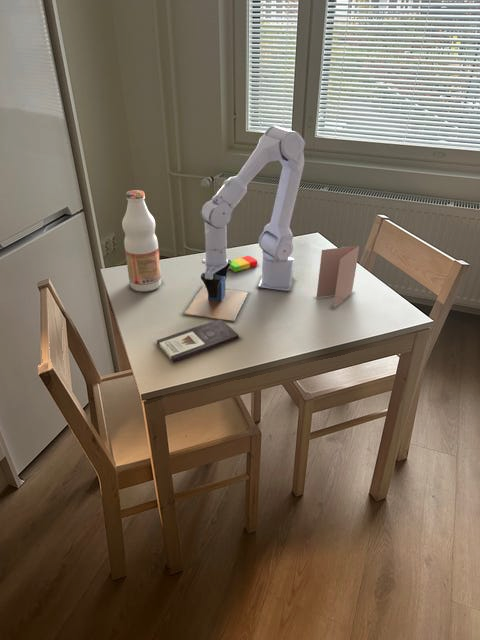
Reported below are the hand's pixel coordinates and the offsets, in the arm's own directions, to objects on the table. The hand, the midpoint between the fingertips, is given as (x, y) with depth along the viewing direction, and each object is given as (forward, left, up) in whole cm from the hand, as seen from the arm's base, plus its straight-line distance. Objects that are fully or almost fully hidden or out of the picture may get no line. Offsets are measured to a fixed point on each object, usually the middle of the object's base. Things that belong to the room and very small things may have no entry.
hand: (217, 290), depth 129 cm
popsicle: (0, -20, -3) cm, 20 cm away
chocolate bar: (-2, +22, -2) cm, 22 cm away
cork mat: (-1, +3, -2) cm, 4 cm away
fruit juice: (+23, -2, -3) cm, 23 cm away
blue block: (0, 0, -2) cm, 2 cm away
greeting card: (-34, -8, -3) cm, 35 cm away
